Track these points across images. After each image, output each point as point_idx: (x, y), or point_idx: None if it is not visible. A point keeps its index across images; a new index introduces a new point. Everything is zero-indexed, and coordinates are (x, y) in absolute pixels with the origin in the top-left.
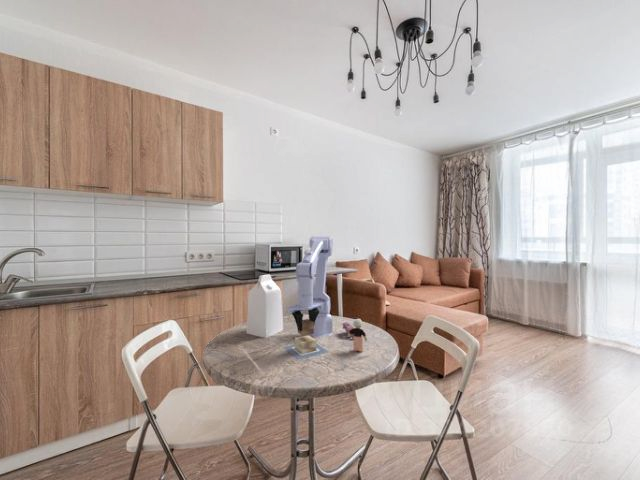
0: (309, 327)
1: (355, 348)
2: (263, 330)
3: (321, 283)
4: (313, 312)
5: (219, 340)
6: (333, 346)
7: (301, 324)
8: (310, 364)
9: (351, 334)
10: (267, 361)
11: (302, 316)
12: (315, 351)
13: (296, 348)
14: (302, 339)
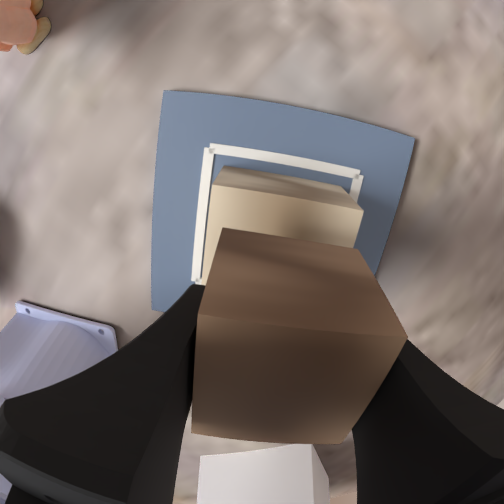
0: (286, 279)
1: (29, 19)
2: (315, 470)
3: None
4: (146, 492)
5: None
6: (77, 170)
7: (400, 351)
8: (381, 48)
9: None
10: (491, 251)
11: (472, 435)
12: (242, 152)
13: None
14: None
